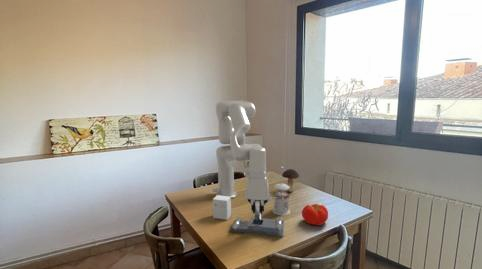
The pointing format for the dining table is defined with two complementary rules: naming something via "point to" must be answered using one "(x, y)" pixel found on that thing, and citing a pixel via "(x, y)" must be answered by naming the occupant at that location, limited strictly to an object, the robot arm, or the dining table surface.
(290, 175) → the decorative mushroom
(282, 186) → the french press
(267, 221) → the plate with square hole
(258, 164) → the robot arm
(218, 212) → the small box
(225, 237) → the dining table surface
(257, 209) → the steel pin
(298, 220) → the dining table surface
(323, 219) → the tomato
